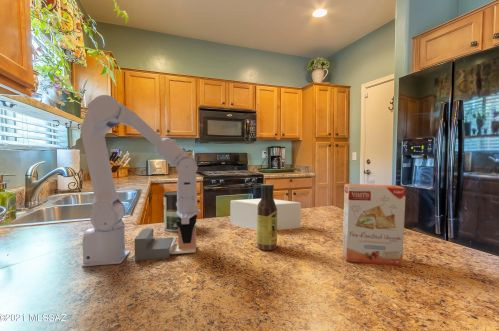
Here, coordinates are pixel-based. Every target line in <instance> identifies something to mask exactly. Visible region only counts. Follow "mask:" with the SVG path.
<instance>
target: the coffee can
mask: <svg viewBox="0 0 499 331" xmlns="http://www.w3.org/2000/svg"><path fill="white" fill-rule="evenodd" d="M162 195H163V230H164V231H165V232H173V233H175V232H177V233H178V228H179V227H178V225H177V223H176V221H177V220H178V217H179V216H178V215H177V190H173V191H166V192H163V194H162Z"/></svg>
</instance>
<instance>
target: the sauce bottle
mask: <svg viewBox="0 0 499 331" xmlns="http://www.w3.org/2000/svg"><path fill="white" fill-rule="evenodd" d="M274 188H275V187H274V184H271V183H263V184H262V183H261V184H260V191H261V193H260V194H261V196H260V199H261V200H260V202H259V204H258V214H257V230H256V243H257V248H258V249H260V250H262V251H273V250H275V249H276V248H277V243H278V230H277V208H276V205H275V202H274V199H275V198H274Z"/></svg>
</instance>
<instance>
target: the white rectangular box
mask: <svg viewBox="0 0 499 331" xmlns="http://www.w3.org/2000/svg"><path fill="white" fill-rule="evenodd" d="M273 199H274V202H275V205H276V208H277V231H280V230H291V229H293V230H294V229H301V226H302V225H301V224H302V202H298V201H291V200H290V201H289V200H283V199H277V198H273ZM260 200H261V198H248V199H246V198H245V199H235V200H234V199H231V200H230V208H229V209H230V210H229V211H230V212H229V213H230V214H229V216H230V225H233V226H237V227H241V228H246V229H251V230H255V231H257V214H258V204H259V202H260Z"/></svg>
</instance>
